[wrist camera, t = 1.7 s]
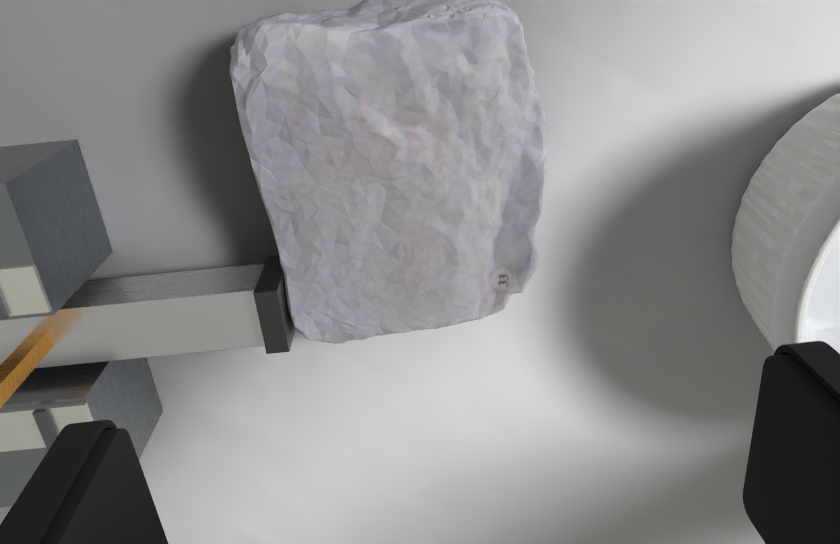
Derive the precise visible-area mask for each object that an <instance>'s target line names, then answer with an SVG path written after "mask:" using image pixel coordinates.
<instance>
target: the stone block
mask: <svg viewBox="0 0 840 544" xmlns="http://www.w3.org/2000/svg"><path fill="white" fill-rule="evenodd" d="M230 54H231V63H230V76H231V79H232V85H233V89H234V94H235V99H236V105H237V110H238V115H239V120H240V125H241V129H242V133H243V136H244V139H245V142H246V146H247V149H248V152H249V156H250V160H251V164H252V168H253V172H254V176H255V179H256V182H257V185H258V189H259V192H260V195H261V198H262V201H263V203H264V206H265V209H266V211H267V214H268V217H269V220H270V223H271V226H272V229H273V233H274V236H275V240H276V244H277V247H278V252H279V258H280V263H281V267H282V270H283V273H284V280H285V288H286V296H287V304H288V309H289V311H290V314H291V319H292V322H293V325H294V328H295V329H296V330H298V331H299V332H300V333H301V334H302V335H303V336H304V337H305V338H307V339H310V340H314V341H320V342H329V343H344V342H346V341H349V340H362V339H366V338H369V337H372V336H377V335H386V334H392V333H402V332H409V331H414V330H424V329H436V328H441V327H446V326H450V325H455V324H459V323H463V322H467V321H472V320H477V319H481V318H483V317H486V316H489V315H492V314H495V313H497V312H499V311H501V310H503V309H504V307H505V305H506V303H507V301H508V299H509V297H510V295H511V294H515V293H521V292H522V291H523V290H524V289H525V288H526V286H527V284H528V282H529V280H530V278H531V276H532V275H533V273H534V271H535V270H536V268H537V264H538V251H537V245H536V242H535V235H534V232H535V224H536V223H537V221H538V219H539V216H540V214H541V208H542V198H543V190H544V185H545V175H546V154H545V145H546V115H545V112H544V108H543V105H542V102H541V99H540V96H539V93H538V90H537V88H536V87H535V85H534V81H535V71H534V69H533V68H532V66H531V64H530V62H529V60H528V57H527V49H526V44H525V39H524V33H523V25H522V22H521V21H519V19H518V16H517V14H516V13H515V12H514V11H513V10H512V9H511V8H510V7H509V6H508V5H506V4H505V3H504V2H502V1H500V0H364V1H363V2H361V3H360V4H358V5H356V6H355V7H353V8H348V9H340V10H335V11H326V10H322V11H319V12H318V11H312V12H304V13H284V14H277V15H273V16H270V17H266V18H261V19H259V20H257V21H255V22H253V23H252V24H249V25H246V26H243V27H241V28H239V30H238V32H237V35H236V39H235V44H234V45H233V46H232V47H231V49H230Z"/></svg>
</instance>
